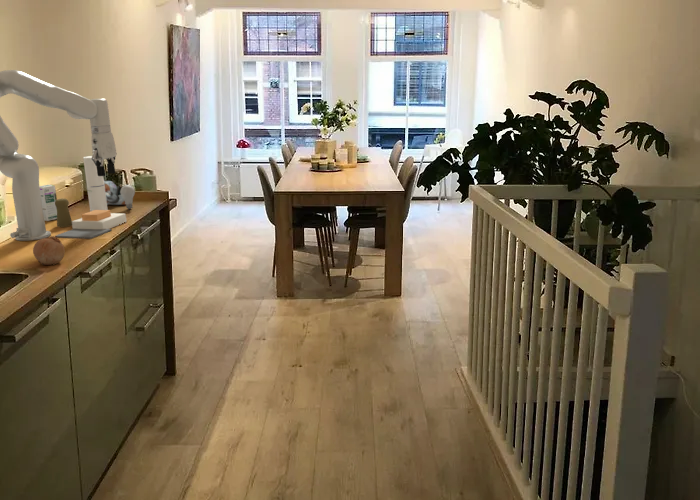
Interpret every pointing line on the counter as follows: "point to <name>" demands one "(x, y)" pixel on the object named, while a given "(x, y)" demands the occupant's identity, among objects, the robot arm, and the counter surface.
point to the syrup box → (48, 202)
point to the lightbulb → (128, 195)
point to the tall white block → (94, 186)
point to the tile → (96, 215)
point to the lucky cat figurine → (113, 194)
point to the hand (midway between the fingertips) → (106, 174)
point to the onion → (48, 250)
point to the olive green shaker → (63, 213)
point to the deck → (100, 222)
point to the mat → (83, 233)
